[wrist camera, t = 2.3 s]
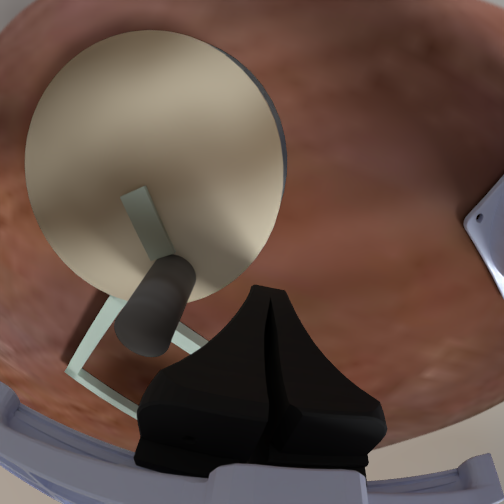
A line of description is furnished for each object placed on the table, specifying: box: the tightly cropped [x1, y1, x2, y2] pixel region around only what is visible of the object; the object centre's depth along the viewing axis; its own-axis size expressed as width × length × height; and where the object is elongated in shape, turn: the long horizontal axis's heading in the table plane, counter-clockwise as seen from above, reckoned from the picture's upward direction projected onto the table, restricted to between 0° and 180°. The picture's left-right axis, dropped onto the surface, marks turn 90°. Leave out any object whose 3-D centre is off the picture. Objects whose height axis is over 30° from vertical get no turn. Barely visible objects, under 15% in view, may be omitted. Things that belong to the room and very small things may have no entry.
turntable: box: [25, 30, 283, 357], centre depth 11 cm, size 12×12×6 cm
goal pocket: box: [65, 295, 209, 419], centre depth 20 cm, size 12×12×1 cm
